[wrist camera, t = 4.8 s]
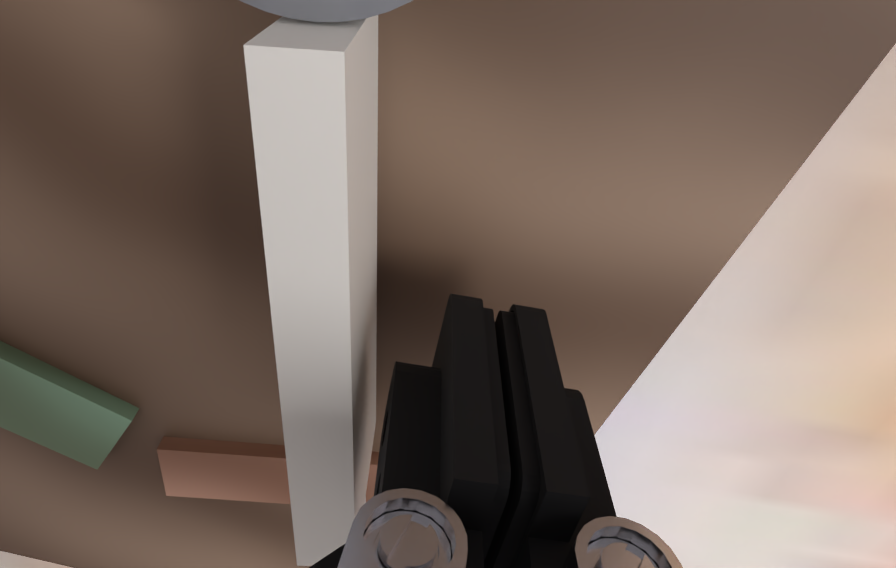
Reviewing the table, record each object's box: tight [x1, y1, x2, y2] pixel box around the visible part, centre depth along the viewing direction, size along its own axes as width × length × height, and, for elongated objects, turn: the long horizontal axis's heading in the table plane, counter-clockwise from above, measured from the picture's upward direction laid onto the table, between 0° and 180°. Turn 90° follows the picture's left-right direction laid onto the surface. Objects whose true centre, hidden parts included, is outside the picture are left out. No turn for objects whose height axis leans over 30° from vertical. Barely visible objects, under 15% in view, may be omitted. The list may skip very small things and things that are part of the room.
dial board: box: [0, 0, 896, 568], centre depth 12 cm, size 26×18×2 cm
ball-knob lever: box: [239, 0, 413, 566], centre depth 10 cm, size 15×4×4 cm, turn 176°
